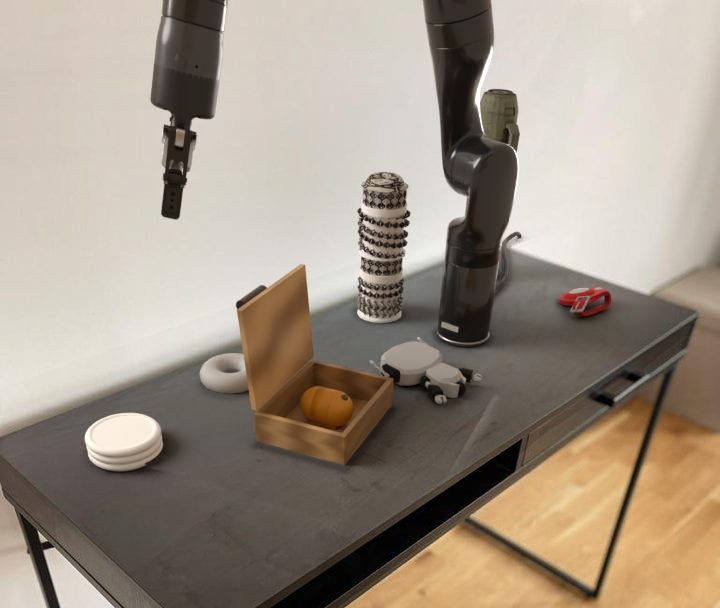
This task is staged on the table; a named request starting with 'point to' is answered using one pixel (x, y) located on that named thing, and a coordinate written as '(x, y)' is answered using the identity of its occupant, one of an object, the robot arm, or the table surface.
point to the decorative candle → (382, 247)
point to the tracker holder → (585, 300)
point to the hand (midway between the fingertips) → (170, 210)
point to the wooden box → (296, 433)
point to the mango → (326, 407)
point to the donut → (225, 374)
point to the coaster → (123, 441)
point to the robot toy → (425, 370)
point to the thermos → (500, 120)
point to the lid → (275, 334)
